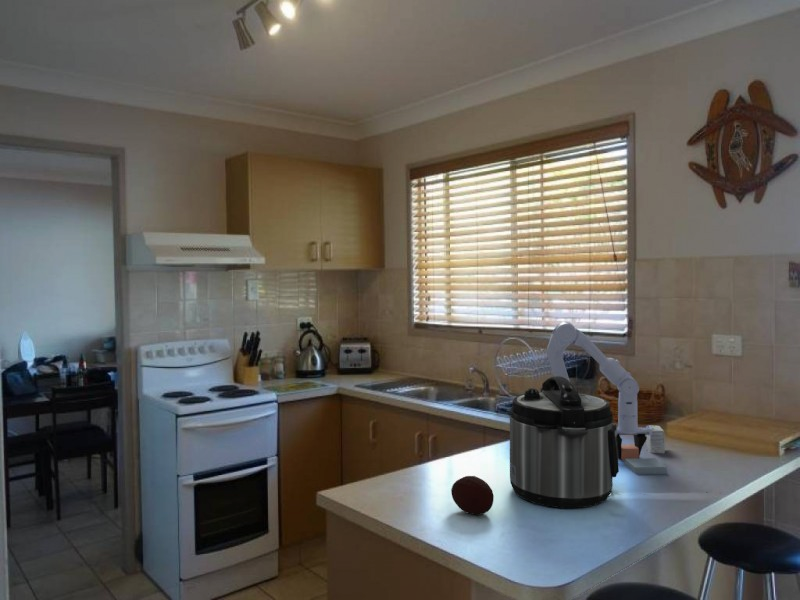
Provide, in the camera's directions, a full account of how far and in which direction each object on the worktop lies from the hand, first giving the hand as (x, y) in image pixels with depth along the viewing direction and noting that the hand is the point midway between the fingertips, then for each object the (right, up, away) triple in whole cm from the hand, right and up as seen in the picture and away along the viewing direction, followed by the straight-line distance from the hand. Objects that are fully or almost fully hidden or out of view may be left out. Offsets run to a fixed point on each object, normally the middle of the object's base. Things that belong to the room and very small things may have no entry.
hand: (627, 457), depth 199 cm
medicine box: (+12, -1, +9) cm, 15 cm away
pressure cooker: (-27, -3, -27) cm, 39 cm away
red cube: (0, -1, 0) cm, 1 cm away
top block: (+1, -1, -12) cm, 12 cm away
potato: (-54, -4, -41) cm, 68 cm away
